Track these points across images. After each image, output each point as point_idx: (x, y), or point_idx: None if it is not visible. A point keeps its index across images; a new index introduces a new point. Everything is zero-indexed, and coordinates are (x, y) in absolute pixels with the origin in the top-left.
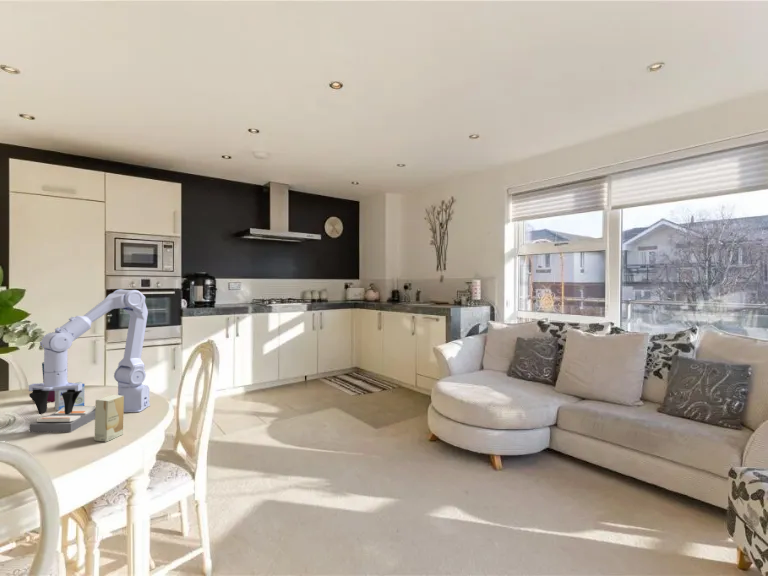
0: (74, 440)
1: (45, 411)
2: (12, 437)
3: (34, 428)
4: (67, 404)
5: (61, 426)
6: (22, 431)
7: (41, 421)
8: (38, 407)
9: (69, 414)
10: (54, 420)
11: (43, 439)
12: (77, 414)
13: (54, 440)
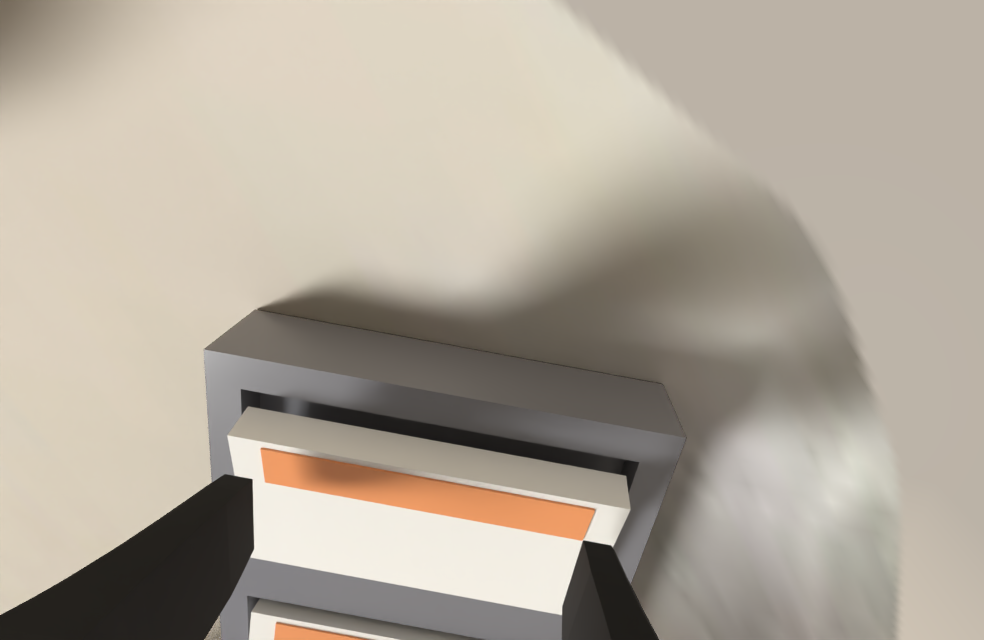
0: (39, 31)
1: (565, 609)
2: (778, 282)
3: (619, 397)
4: (69, 581)
5: (324, 353)
6: (745, 431)
7: (574, 471)
8: (630, 634)
9: (417, 631)
10: (423, 452)
11: (412, 144)
12: (337, 616)
13: (269, 81)
